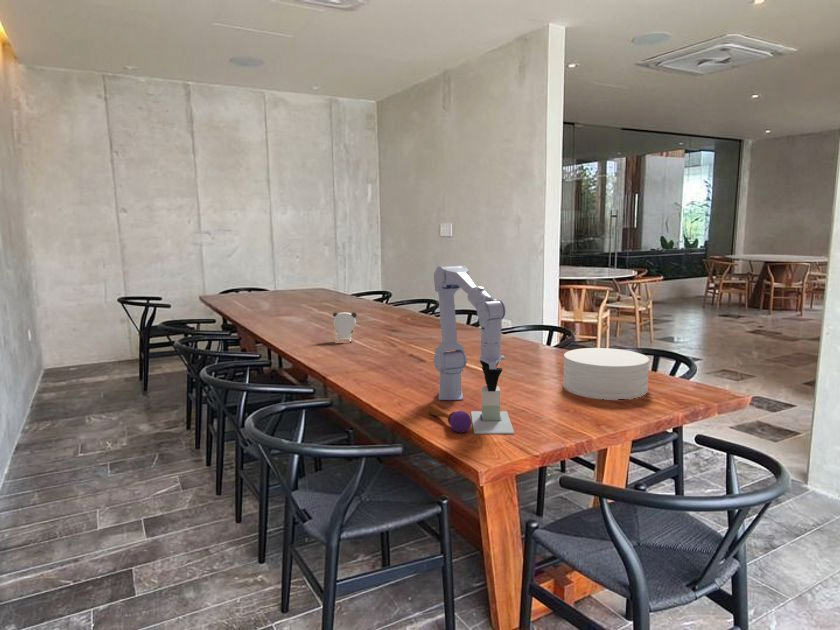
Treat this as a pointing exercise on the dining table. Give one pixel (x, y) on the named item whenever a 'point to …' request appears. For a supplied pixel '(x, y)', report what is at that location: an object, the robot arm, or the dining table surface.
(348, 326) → the panda figurine
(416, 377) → the dining table surface
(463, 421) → the kendama
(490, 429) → the grey base plate
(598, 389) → the plate stack
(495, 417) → the block base
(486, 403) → the block top
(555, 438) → the dining table surface
